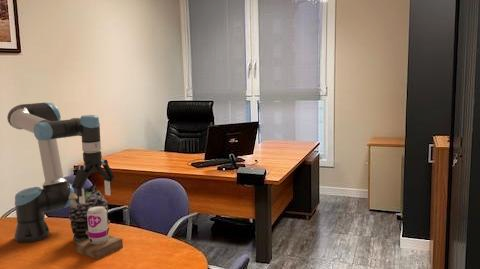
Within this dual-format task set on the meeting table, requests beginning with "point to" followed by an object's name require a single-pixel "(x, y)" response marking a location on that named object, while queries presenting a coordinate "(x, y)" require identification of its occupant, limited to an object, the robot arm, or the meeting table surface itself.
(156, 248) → the meeting table surface
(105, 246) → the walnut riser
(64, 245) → the meeting table surface
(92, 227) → the supplement can
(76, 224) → the decorative house
